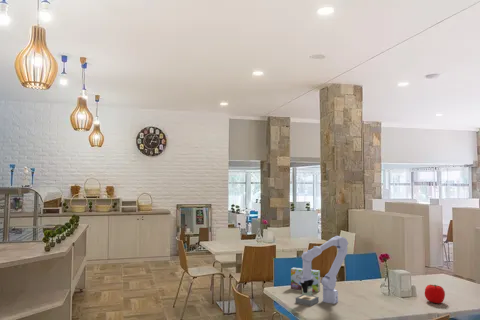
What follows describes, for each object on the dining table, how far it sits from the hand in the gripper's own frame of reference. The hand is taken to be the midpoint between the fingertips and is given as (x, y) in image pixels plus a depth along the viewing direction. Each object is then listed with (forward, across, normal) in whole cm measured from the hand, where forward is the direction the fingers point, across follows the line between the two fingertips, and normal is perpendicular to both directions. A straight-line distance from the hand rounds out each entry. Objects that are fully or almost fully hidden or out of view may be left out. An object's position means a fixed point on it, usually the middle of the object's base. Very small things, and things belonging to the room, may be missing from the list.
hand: (307, 291), depth 262 cm
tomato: (+8, -55, +66) cm, 86 cm away
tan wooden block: (+7, 0, 0) cm, 7 cm away
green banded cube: (+2, 0, 0) cm, 2 cm away
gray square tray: (+7, 0, 0) cm, 7 cm away
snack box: (+8, -31, -17) cm, 36 cm away
